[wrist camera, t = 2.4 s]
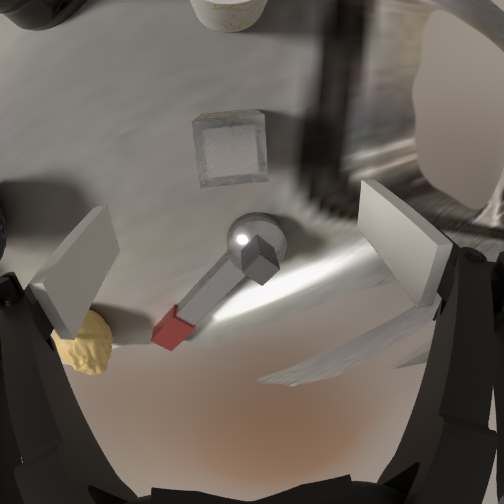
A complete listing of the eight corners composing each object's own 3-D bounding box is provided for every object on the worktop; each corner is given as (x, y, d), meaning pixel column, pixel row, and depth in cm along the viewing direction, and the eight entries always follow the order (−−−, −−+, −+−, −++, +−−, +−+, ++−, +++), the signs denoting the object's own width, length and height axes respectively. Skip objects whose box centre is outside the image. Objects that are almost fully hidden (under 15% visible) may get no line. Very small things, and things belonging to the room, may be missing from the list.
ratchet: (252, 201, 38) (258, 228, 31) (294, 234, 41) (307, 266, 34) (145, 324, 49) (136, 358, 42) (181, 343, 52) (177, 377, 45)
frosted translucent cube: (201, 114, 31) (191, 121, 23) (255, 108, 31) (264, 114, 24) (207, 164, 35) (200, 187, 27) (259, 159, 35) (268, 181, 27)
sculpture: (121, 345, 52) (109, 388, 43) (70, 333, 50) (54, 373, 40) (115, 306, 46) (98, 352, 37) (59, 293, 44) (36, 335, 35)
